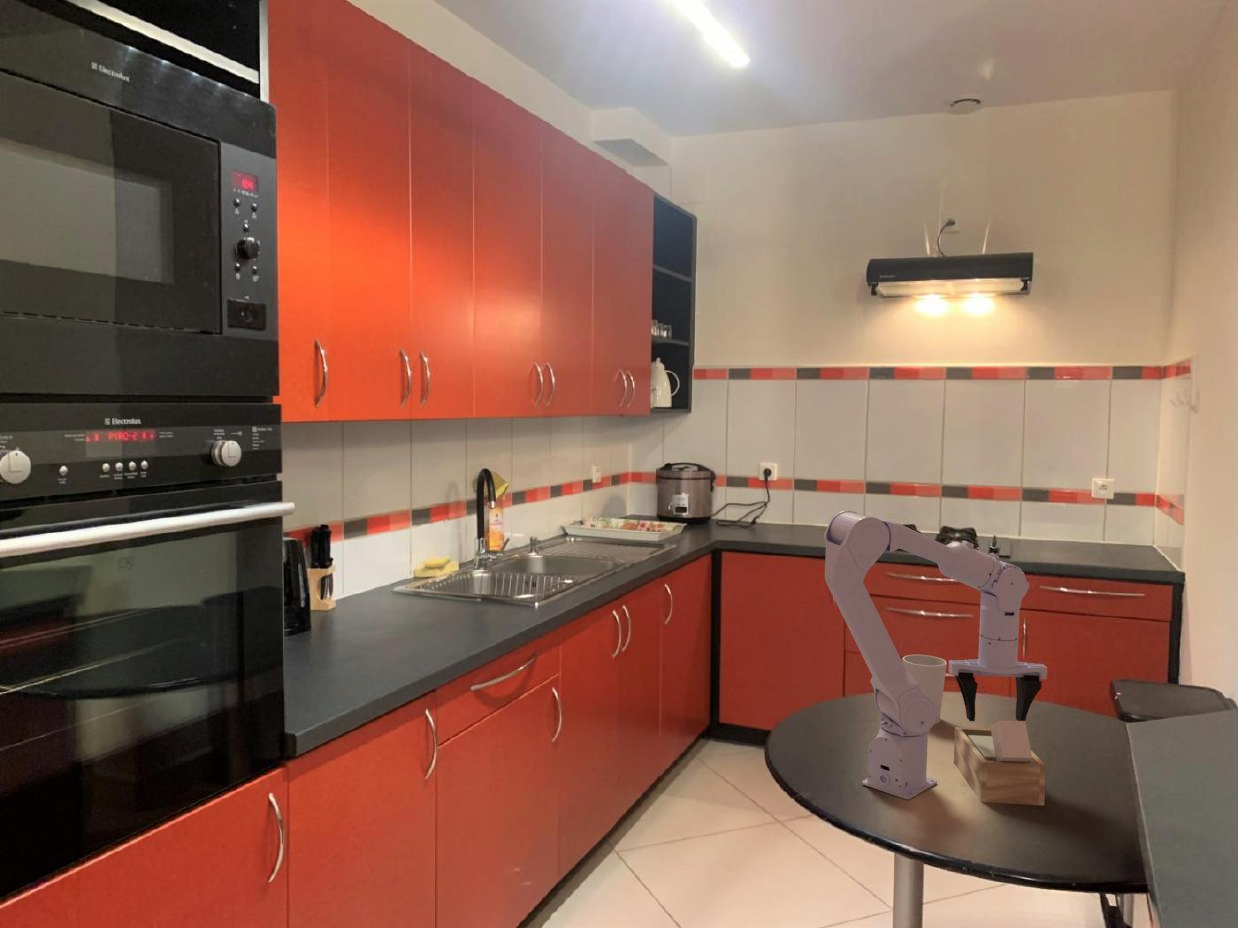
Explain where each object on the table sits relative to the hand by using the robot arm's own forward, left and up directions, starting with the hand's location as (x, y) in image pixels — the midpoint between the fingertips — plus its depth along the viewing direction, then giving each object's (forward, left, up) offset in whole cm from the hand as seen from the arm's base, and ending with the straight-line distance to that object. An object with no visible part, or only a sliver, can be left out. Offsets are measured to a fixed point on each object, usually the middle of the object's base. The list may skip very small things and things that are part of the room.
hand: (995, 720), depth 143 cm
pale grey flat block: (-3, -2, -4) cm, 5 cm away
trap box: (-1, -1, -10) cm, 10 cm away
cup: (+17, +21, -10) cm, 29 cm away
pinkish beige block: (-7, -6, -3) cm, 9 cm away
